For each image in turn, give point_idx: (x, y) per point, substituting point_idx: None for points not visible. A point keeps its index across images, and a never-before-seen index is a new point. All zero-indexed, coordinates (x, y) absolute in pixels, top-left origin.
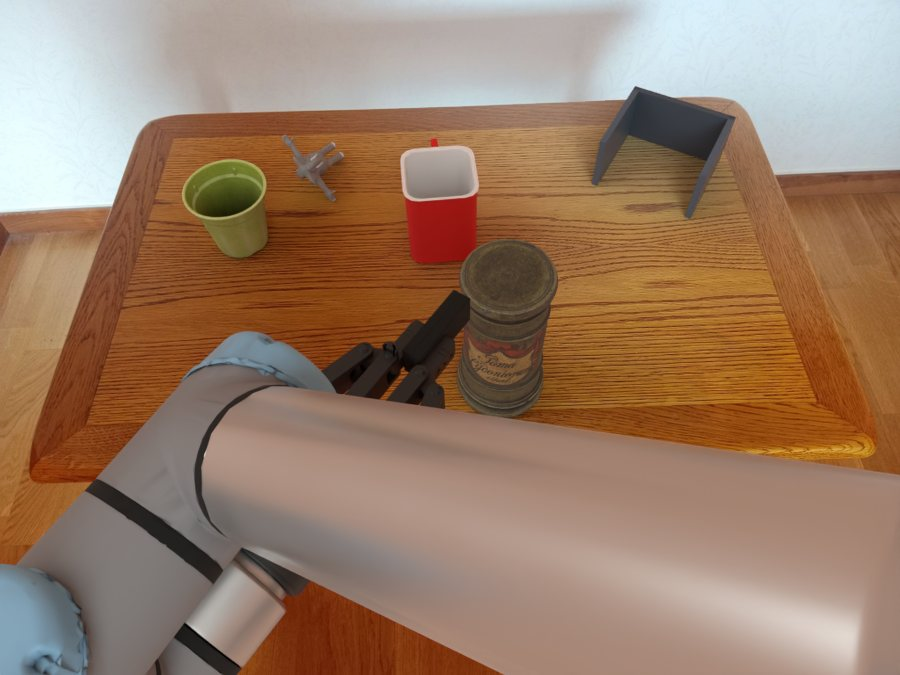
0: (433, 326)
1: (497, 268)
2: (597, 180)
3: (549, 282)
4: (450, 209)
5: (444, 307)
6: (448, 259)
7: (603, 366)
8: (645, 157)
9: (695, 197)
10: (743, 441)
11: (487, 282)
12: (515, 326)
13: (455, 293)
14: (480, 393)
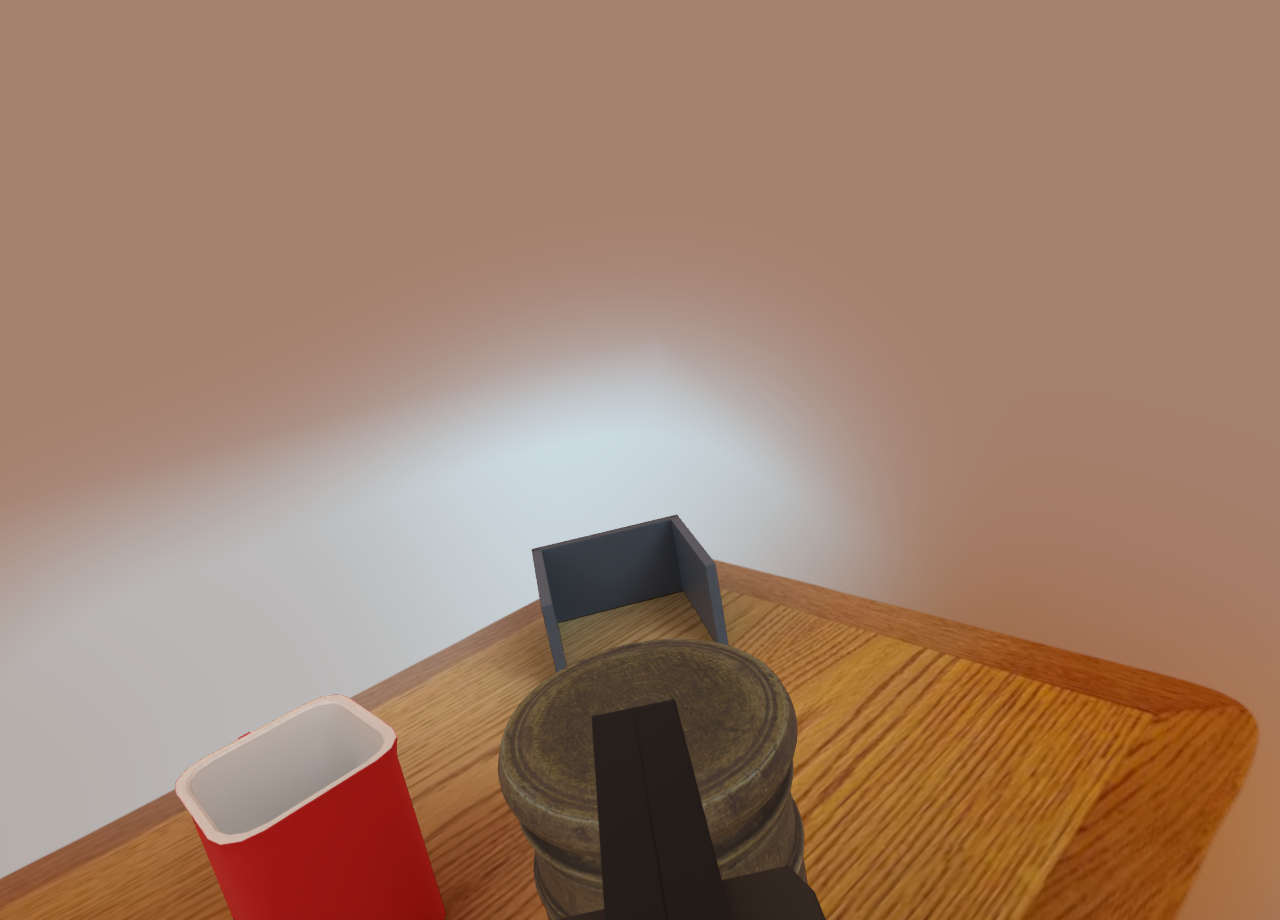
0: (654, 868)
1: None
2: None
3: (746, 667)
4: (351, 813)
5: (620, 777)
6: None
7: (870, 917)
8: (602, 628)
9: (718, 606)
10: (1199, 842)
11: None
12: (768, 832)
13: (610, 719)
14: None
